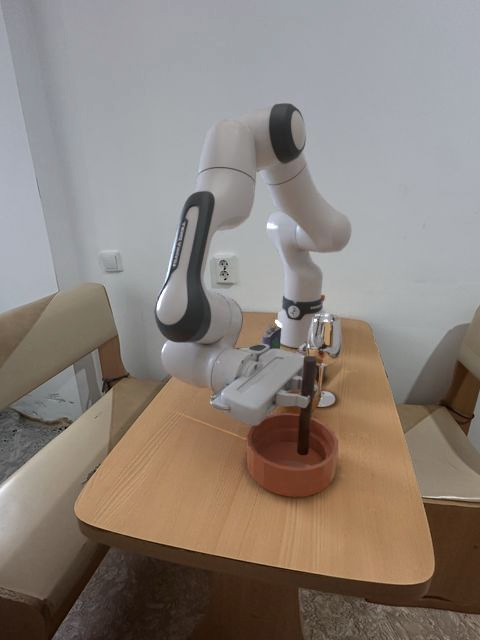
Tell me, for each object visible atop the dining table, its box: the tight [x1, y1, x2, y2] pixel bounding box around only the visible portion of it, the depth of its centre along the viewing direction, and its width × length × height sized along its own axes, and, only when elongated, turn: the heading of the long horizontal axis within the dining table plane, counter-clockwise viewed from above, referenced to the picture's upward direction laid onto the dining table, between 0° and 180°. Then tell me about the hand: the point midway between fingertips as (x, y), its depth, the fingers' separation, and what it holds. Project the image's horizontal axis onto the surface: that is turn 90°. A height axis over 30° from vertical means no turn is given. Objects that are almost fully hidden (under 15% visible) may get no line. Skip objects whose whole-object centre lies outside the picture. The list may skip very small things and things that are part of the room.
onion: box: [278, 379, 322, 414], centre depth 80 cm, size 10×10×10 cm
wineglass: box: [305, 312, 343, 408], centre depth 83 cm, size 8×8×20 cm
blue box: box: [261, 323, 281, 349], centre depth 103 cm, size 9×3×11 cm, turn 151°
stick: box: [297, 356, 317, 455], centre depth 61 cm, size 2×2×18 cm
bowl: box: [246, 412, 339, 498], centre depth 65 cm, size 15×15×6 cm
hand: (312, 396), depth 59 cm, fingers closed on stick, 2 cm apart
